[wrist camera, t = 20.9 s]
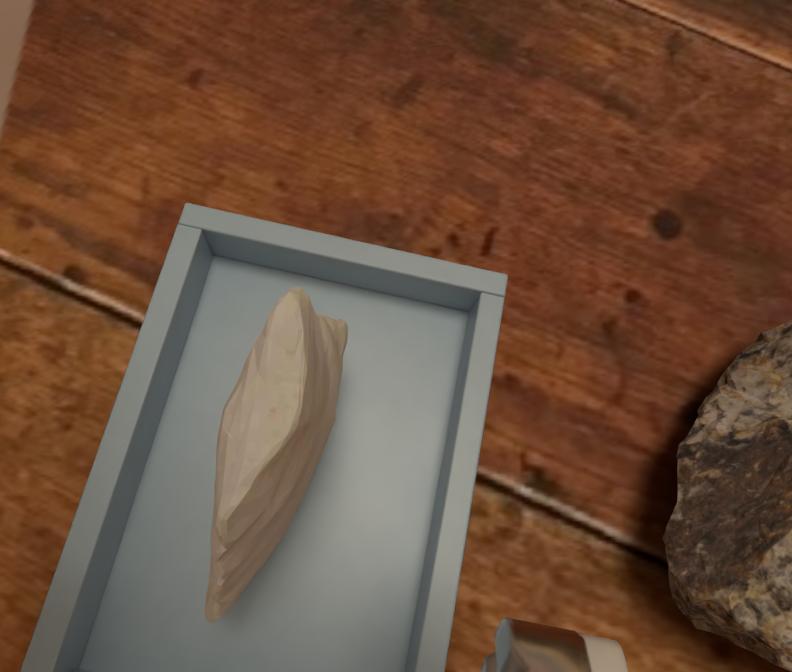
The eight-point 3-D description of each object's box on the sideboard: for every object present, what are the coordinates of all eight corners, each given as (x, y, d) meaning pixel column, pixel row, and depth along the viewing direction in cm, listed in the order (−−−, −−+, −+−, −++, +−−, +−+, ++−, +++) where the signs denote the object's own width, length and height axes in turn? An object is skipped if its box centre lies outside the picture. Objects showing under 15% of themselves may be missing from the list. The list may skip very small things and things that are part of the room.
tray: (413, 765, 18) (424, 800, 16) (48, 689, 18) (4, 712, 16) (491, 301, 23) (508, 274, 20) (201, 236, 23) (185, 201, 20)
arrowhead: (272, 620, 19) (205, 704, 9) (197, 593, 19) (52, 650, 9) (365, 366, 21) (387, 226, 12) (299, 343, 21) (267, 184, 12)
